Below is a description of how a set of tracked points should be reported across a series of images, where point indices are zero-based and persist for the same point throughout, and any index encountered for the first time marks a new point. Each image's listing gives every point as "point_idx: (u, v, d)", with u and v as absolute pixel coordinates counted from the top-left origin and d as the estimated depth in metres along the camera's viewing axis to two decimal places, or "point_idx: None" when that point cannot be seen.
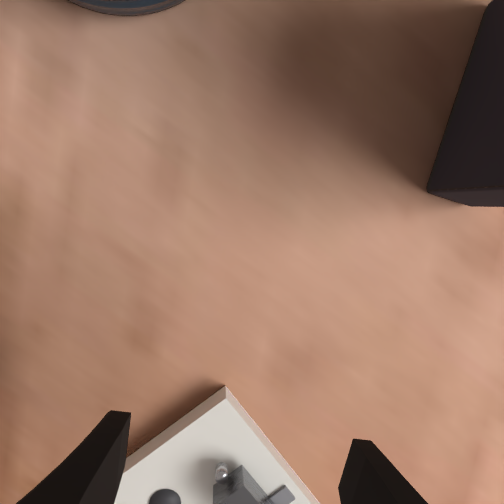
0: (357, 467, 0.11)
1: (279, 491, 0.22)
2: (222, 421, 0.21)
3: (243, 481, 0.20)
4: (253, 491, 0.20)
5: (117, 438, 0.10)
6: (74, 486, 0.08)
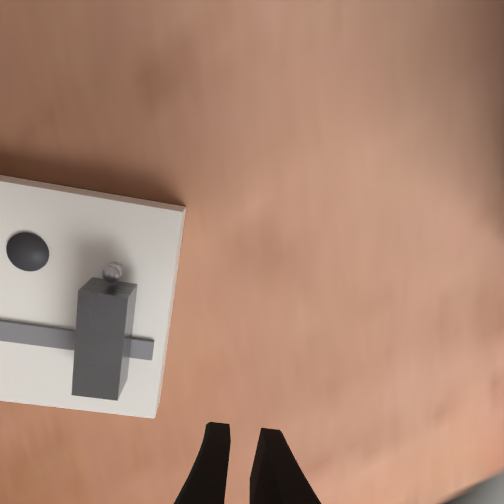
0: (260, 456, 0.11)
1: (144, 341, 0.18)
2: (157, 229, 0.17)
3: (129, 295, 0.16)
4: (128, 313, 0.16)
5: (229, 450, 0.10)
6: (212, 499, 0.08)
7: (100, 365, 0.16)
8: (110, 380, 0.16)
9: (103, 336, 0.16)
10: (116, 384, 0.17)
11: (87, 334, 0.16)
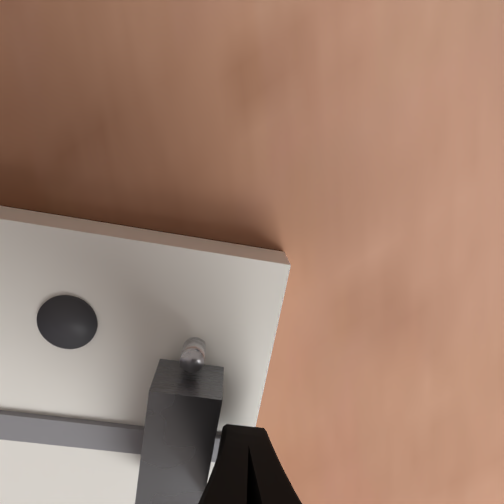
0: None
1: None
2: (253, 290, 0.12)
3: (222, 393, 0.11)
4: None
5: (248, 452, 0.10)
6: (235, 502, 0.08)
7: (175, 491, 0.11)
8: None
9: (182, 453, 0.11)
10: None
11: (159, 451, 0.11)
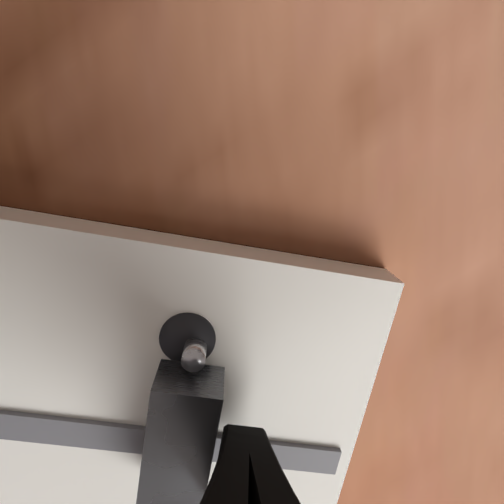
0: None
1: (328, 450, 0.13)
2: (366, 307, 0.12)
3: (223, 393, 0.11)
4: None
5: (248, 452, 0.10)
6: (236, 502, 0.08)
7: (177, 491, 0.11)
8: None
9: (183, 452, 0.11)
10: None
11: (160, 450, 0.11)
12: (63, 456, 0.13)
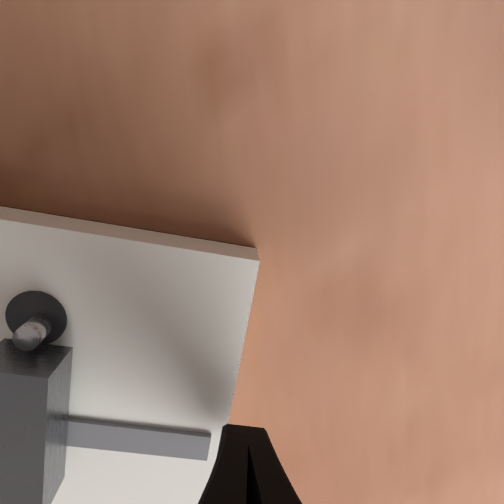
0: None
1: (197, 435, 0.13)
2: (223, 286, 0.12)
3: (53, 372, 0.10)
4: (54, 397, 0.11)
5: (247, 452, 0.10)
6: (234, 502, 0.08)
7: (12, 474, 0.11)
8: (28, 495, 0.11)
9: (13, 434, 0.10)
10: (38, 500, 0.11)
11: None
12: None
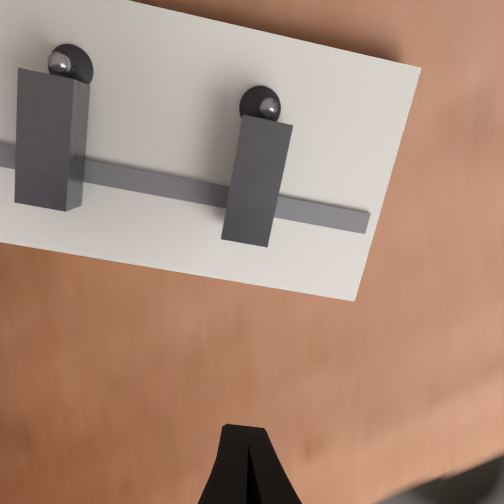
0: None
1: (360, 212, 0.18)
2: (393, 87, 0.16)
3: None
4: None
5: (247, 452, 0.10)
6: (234, 501, 0.08)
7: (255, 205, 0.15)
8: (263, 223, 0.16)
9: (262, 170, 0.15)
10: (268, 228, 0.16)
11: (246, 167, 0.15)
12: (161, 210, 0.17)
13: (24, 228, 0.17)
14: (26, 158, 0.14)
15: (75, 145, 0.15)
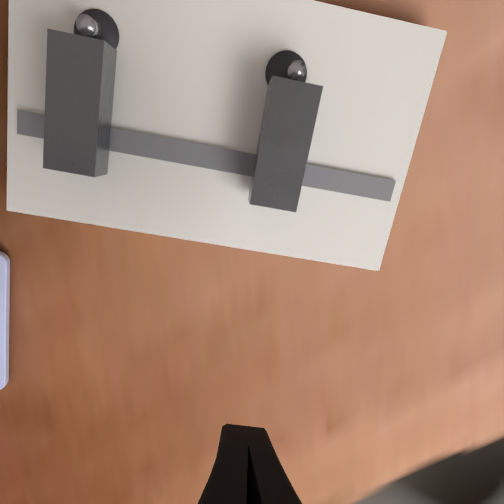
0: None
1: (385, 179, 0.18)
2: (418, 51, 0.16)
3: None
4: None
5: (247, 452, 0.10)
6: (234, 501, 0.08)
7: (284, 168, 0.15)
8: (292, 187, 0.16)
9: (291, 133, 0.15)
10: (297, 192, 0.16)
11: (275, 130, 0.15)
12: (186, 179, 0.17)
13: (48, 199, 0.17)
14: (55, 122, 0.14)
15: (103, 110, 0.15)
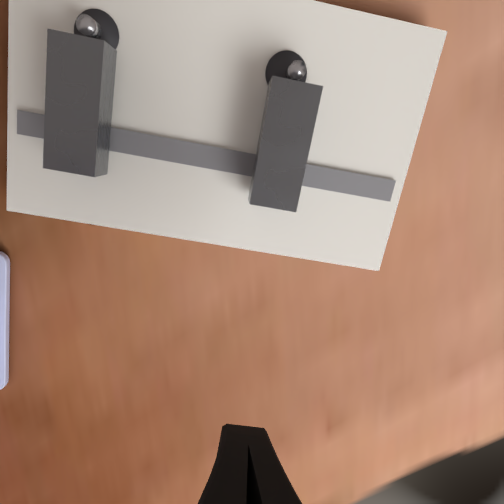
0: None
1: (385, 179, 0.18)
2: (418, 51, 0.16)
3: None
4: None
5: (247, 452, 0.10)
6: (234, 501, 0.08)
7: (284, 168, 0.15)
8: (292, 187, 0.16)
9: (291, 133, 0.15)
10: (297, 192, 0.16)
11: (275, 130, 0.15)
12: (186, 179, 0.17)
13: (48, 199, 0.17)
14: (55, 122, 0.14)
15: (103, 110, 0.15)
